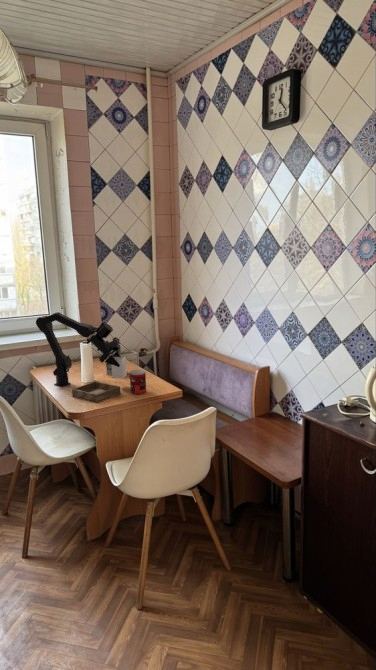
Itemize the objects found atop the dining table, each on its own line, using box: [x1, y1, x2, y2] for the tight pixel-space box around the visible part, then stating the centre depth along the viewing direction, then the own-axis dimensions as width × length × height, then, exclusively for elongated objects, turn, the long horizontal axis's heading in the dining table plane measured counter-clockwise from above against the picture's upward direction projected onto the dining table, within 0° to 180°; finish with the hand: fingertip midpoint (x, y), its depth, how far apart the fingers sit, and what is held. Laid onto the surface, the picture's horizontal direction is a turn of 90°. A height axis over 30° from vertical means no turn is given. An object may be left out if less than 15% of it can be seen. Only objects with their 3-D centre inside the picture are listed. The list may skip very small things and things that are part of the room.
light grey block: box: [111, 356, 128, 379], centre depth 252 cm, size 6×6×10 cm
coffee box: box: [105, 344, 122, 376], centre depth 279 cm, size 9×6×16 cm
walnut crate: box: [71, 380, 121, 404], centre depth 240 cm, size 18×16×4 cm
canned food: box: [129, 369, 147, 395], centre depth 243 cm, size 8×8×11 cm
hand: (121, 364), depth 251 cm, fingers closed on light grey block, 6 cm apart
